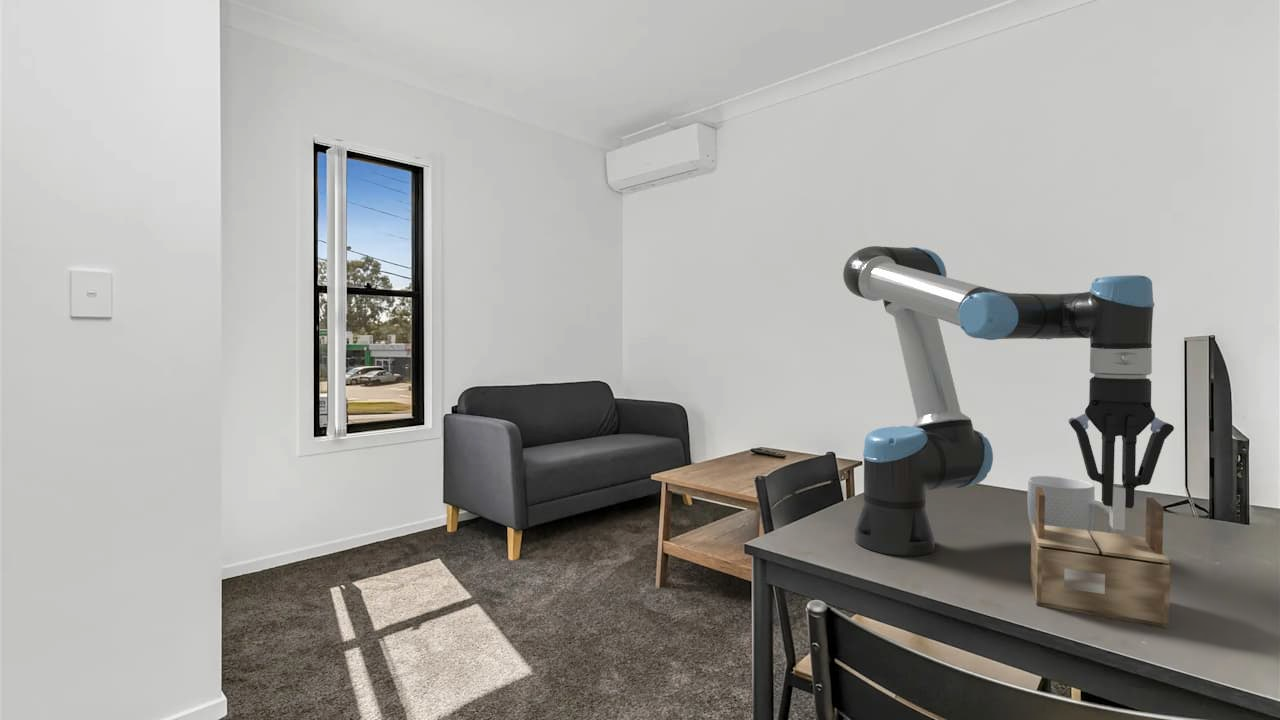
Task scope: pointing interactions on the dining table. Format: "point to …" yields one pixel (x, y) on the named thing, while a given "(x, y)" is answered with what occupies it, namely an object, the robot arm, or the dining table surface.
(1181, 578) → the dining table surface
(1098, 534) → the right flap
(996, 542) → the dining table surface
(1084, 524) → the mug
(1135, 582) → the carton
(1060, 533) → the left flap
